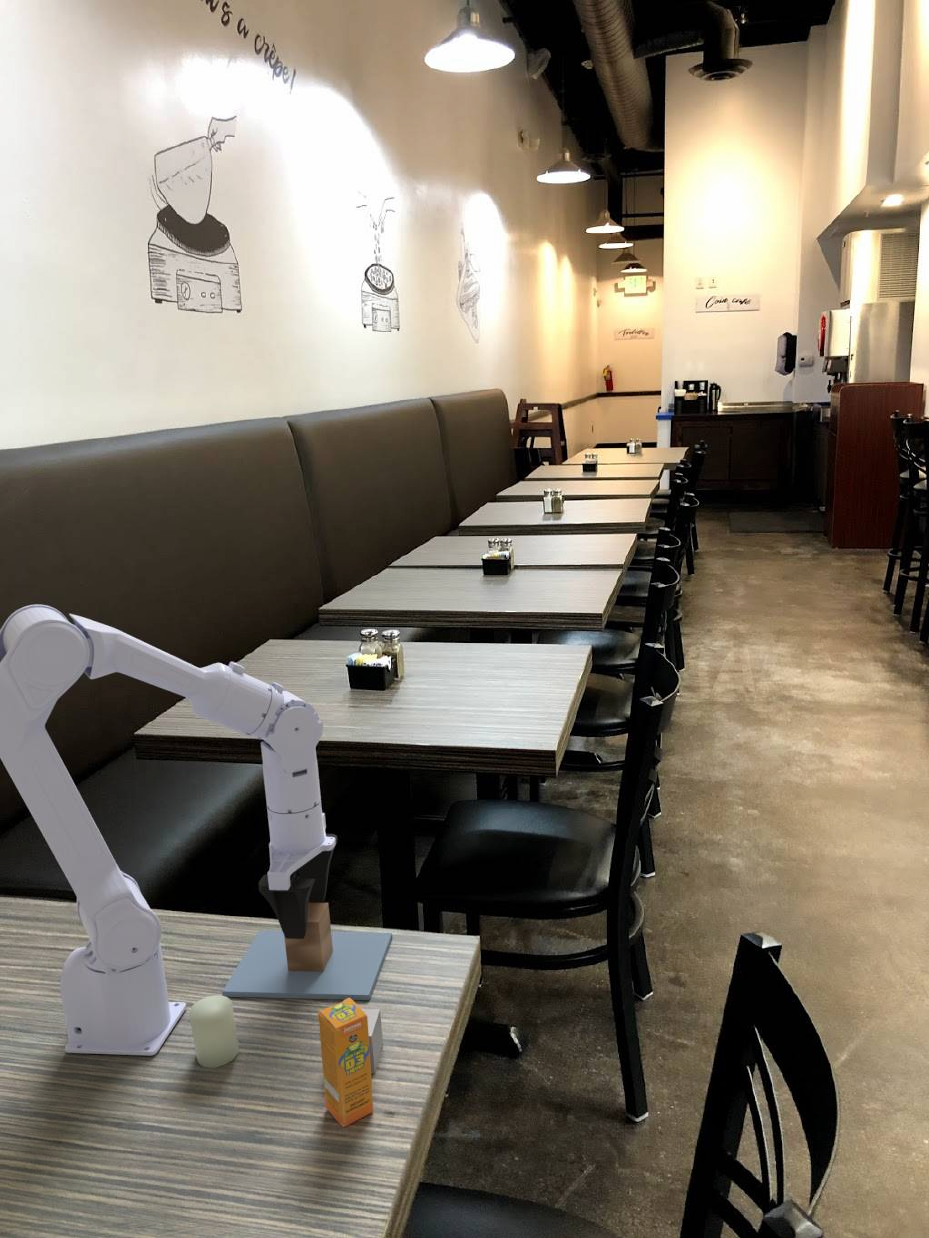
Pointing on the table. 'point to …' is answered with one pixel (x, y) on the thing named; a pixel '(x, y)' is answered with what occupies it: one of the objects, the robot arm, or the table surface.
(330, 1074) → the supplement box
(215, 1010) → the sage cylinder
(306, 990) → the slate mat
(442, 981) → the table surface
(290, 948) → the walnut block
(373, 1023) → the grey cube
